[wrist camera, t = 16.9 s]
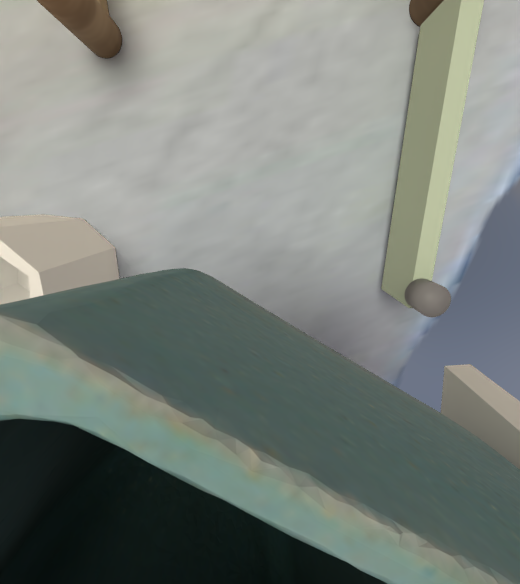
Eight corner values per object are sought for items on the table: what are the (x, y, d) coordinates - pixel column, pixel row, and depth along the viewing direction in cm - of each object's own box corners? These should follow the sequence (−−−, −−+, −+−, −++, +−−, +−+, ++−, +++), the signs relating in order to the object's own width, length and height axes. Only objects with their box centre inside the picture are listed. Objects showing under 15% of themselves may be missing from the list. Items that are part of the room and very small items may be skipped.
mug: (30, 194, 26) (-100, 190, 16) (137, 244, 27) (74, 266, 18) (-11, 328, 29) (-142, 391, 19) (88, 369, 30) (10, 447, 20)
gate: (414, 24, 23) (479, -48, 16) (444, 26, 23) (521, -45, 16) (376, 288, 27) (414, 316, 21) (401, 289, 27) (447, 318, 21)
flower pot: (199, 211, 10) (-135, 274, 1) (431, 355, 11) (999, 850, 3) (75, 432, 12) (-406, 1050, 3) (287, 534, 13) (349, 1168, 5)
